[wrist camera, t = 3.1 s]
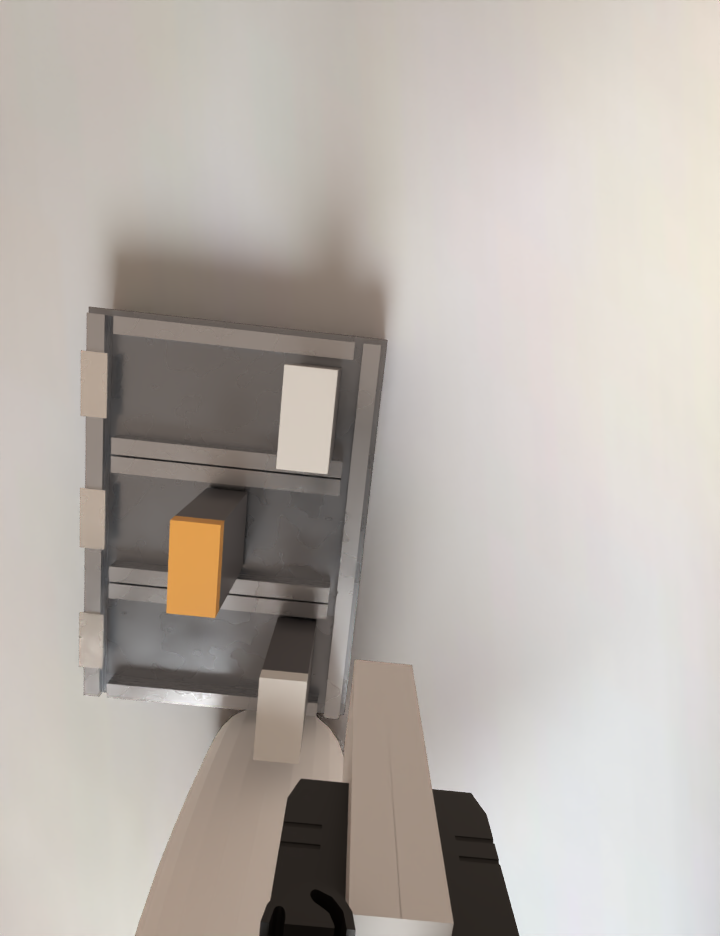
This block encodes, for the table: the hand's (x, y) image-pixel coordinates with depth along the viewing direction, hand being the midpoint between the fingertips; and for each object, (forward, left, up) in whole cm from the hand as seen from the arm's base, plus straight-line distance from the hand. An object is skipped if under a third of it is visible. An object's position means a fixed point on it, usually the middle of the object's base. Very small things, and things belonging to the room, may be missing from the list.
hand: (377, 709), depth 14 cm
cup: (-4, -15, -17) cm, 22 cm away
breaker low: (-3, -7, -13) cm, 15 cm away
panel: (-7, 0, -16) cm, 18 cm away
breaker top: (-3, +6, -13) cm, 15 cm away
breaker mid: (-7, 0, -13) cm, 15 cm away
